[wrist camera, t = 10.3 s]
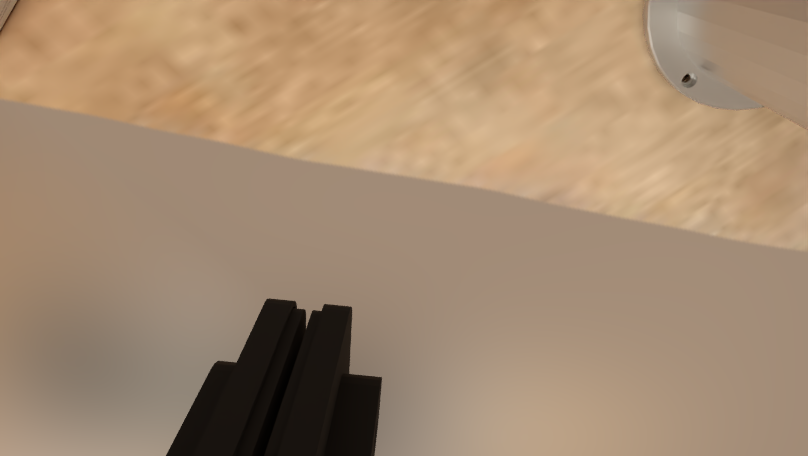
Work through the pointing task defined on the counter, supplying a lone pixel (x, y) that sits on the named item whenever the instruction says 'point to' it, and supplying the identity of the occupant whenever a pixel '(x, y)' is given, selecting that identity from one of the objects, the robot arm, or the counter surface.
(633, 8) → the counter surface
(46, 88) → the counter surface
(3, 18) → the skincare box
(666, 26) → the robot arm
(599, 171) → the counter surface
